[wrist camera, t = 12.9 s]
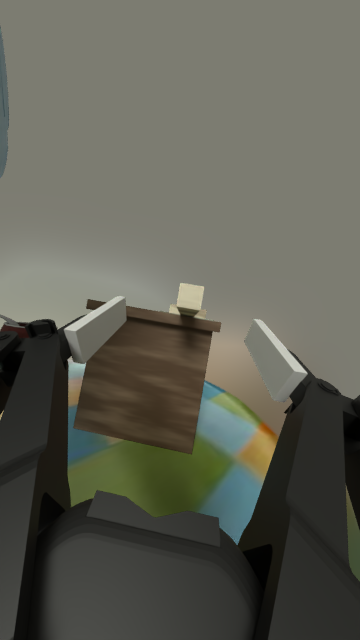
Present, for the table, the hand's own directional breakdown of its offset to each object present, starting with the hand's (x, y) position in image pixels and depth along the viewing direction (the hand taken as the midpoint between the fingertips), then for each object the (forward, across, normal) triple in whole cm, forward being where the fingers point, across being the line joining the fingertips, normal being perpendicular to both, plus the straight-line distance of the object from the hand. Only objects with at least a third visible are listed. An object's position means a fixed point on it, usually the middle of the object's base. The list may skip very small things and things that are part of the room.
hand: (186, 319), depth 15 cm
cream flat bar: (+14, 0, -6) cm, 15 cm away
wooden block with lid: (+5, -7, -34) cm, 35 cm away
